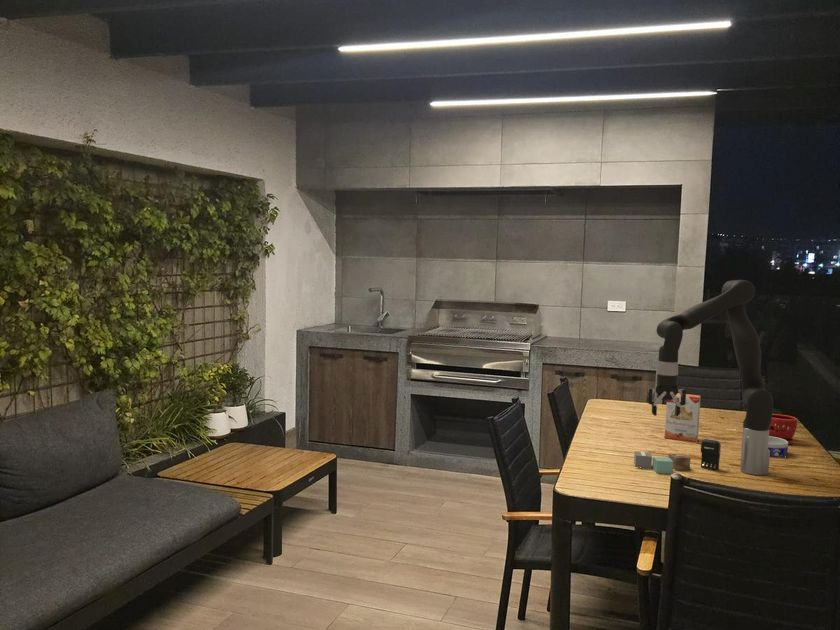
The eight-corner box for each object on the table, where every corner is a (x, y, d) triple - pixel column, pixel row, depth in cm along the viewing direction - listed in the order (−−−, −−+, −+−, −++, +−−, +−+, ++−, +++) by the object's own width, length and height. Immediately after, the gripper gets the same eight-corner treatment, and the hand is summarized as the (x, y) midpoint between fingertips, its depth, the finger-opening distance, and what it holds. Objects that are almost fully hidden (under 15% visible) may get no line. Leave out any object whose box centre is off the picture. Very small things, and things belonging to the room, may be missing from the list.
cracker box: (664, 438, 325) (666, 393, 323) (666, 435, 330) (668, 391, 328) (696, 442, 318) (699, 397, 316) (698, 440, 323) (700, 395, 322)
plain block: (667, 469, 275) (668, 457, 274) (672, 474, 269) (673, 461, 268) (652, 469, 275) (652, 456, 275) (656, 473, 269) (657, 460, 269)
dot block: (682, 466, 280) (683, 453, 280) (689, 470, 275) (690, 457, 274) (668, 466, 280) (668, 453, 279) (675, 470, 274) (675, 457, 273)
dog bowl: (765, 458, 295) (766, 444, 294) (739, 449, 309) (740, 435, 309) (795, 457, 299) (796, 443, 298) (768, 447, 313) (769, 434, 313)
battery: (698, 467, 278) (700, 439, 277) (701, 465, 281) (703, 437, 280) (716, 471, 274) (718, 442, 273) (720, 469, 277) (721, 440, 276)
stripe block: (649, 465, 280) (650, 452, 280) (651, 469, 275) (651, 456, 274) (633, 463, 282) (634, 451, 281) (635, 468, 276) (635, 455, 275)
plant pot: (799, 446, 316) (801, 420, 315) (768, 444, 319) (769, 418, 318) (790, 439, 329) (792, 414, 328) (760, 437, 332) (761, 412, 331)
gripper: (683, 372, 272) (681, 414, 273) (645, 371, 273) (644, 412, 274) (689, 375, 264) (687, 418, 266) (650, 374, 265) (649, 417, 267)
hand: (665, 415), depth 270 cm, fingers open, 7 cm apart
